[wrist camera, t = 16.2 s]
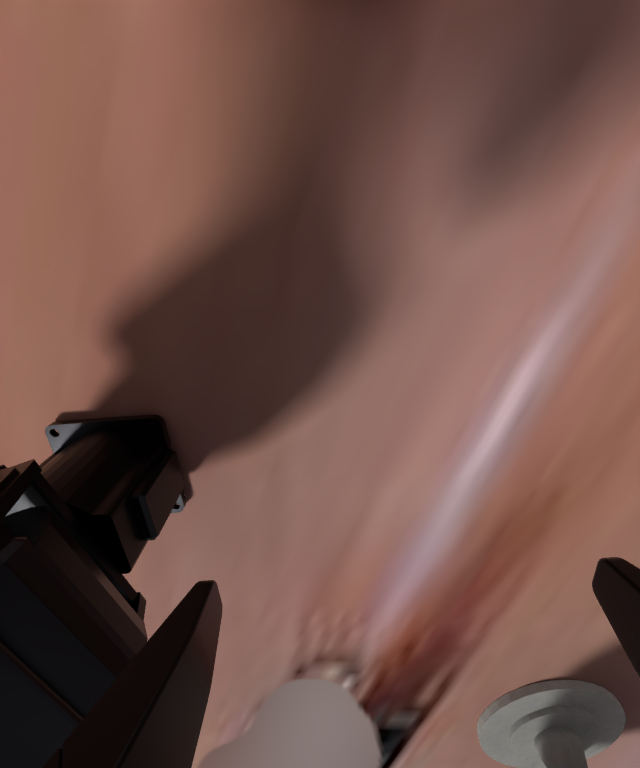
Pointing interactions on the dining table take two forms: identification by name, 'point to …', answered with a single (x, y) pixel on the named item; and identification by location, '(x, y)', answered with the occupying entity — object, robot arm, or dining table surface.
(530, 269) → the dining table surface
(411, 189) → the dining table surface
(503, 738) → the mate gourd
